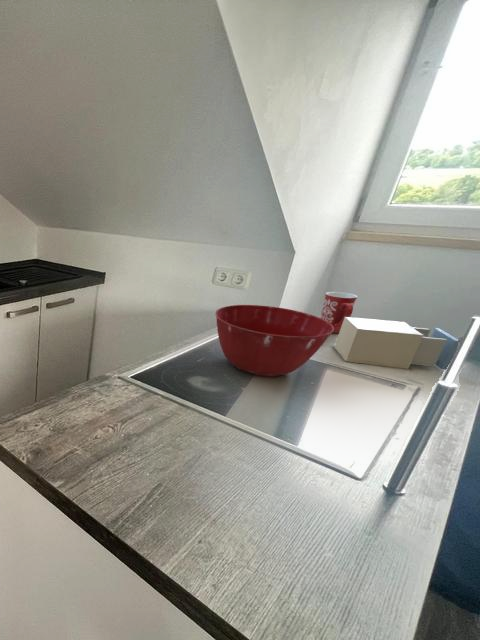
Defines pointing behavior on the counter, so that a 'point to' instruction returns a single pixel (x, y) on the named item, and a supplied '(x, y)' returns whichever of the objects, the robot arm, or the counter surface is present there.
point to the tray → (435, 348)
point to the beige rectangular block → (378, 342)
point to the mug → (337, 308)
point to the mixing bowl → (269, 338)
